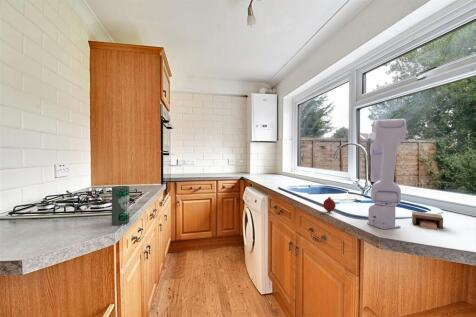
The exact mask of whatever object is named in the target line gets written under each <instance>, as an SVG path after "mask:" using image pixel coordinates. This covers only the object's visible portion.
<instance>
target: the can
mask: <svg viewBox="0 0 476 317" xmlns="http://www.w3.org/2000/svg"><path fill="white" fill-rule="evenodd" d="M129 223H130V186H129V185H115V186H112V187H111V225H112V226H123V225H127V224H129ZM122 224H123V225H122Z"/></svg>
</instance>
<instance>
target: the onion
mask: <svg viewBox="0 0 476 317" xmlns="http://www.w3.org/2000/svg"><path fill="white" fill-rule="evenodd" d="M322 206H323V209H325V211H327V212H328V213H331V212H333V211H334V210H335V208H336V206H337V204H336V202H335V201H334V199H332V198H331V196H328V197H327V199H324V201H323V203H322Z"/></svg>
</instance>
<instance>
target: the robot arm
mask: <svg viewBox="0 0 476 317" xmlns="http://www.w3.org/2000/svg"><path fill="white" fill-rule="evenodd" d="M407 127H408V126H407V120H406V119H405V118H395V119H394V118H392V119H376V120H375V121H374V124H373V132H374V136H375V139H374V140H373V143H370V147H369V155H370V177H369V178H370V179H372V180H370V184H371V189H370V200H371V202H372V203H374V204H372V205H370V206H369V207H368V215H367V216H368V220H367V221H366V224H368V225H369V226H370V225H371V226H373V227H376V228H378V229H382V230H387V229H397V228H401V225H398V224H396V207H397V206H398V205H399V204H400V203H401V200H402V191H401V187H400V185H399V184H397V183H396V182H394V181H395V180H394V177H395V169H396V162H397V156H398V155H397V153H398V148H399V146H400V144H401V143H403V142H404V141H405V139H406V135H407Z"/></svg>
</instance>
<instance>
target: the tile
mask: <svg viewBox="0 0 476 317" xmlns="http://www.w3.org/2000/svg"><path fill="white" fill-rule="evenodd" d="M418 224H419V227H420V228H422V229H424V228H425V229H431V230H437V229H438V225H436V223H435V222H431V221H424V220H419V223H418Z"/></svg>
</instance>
